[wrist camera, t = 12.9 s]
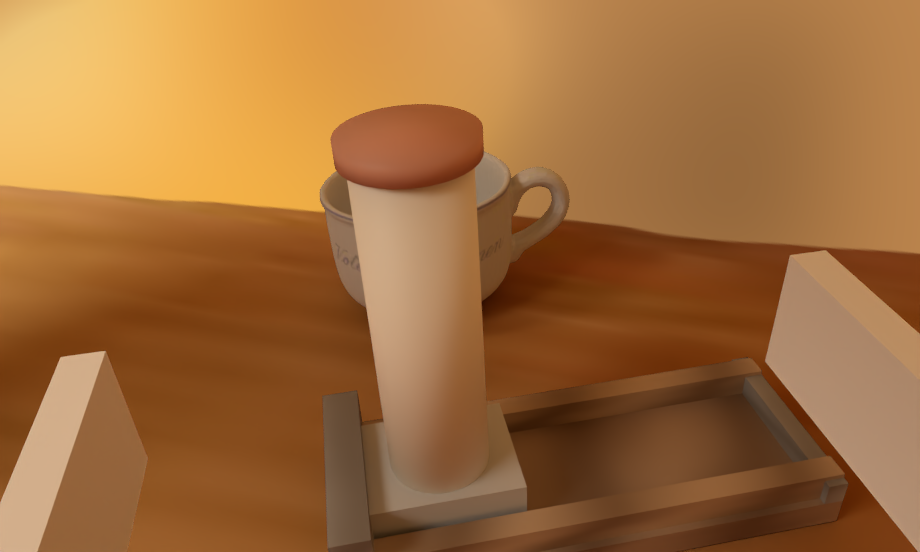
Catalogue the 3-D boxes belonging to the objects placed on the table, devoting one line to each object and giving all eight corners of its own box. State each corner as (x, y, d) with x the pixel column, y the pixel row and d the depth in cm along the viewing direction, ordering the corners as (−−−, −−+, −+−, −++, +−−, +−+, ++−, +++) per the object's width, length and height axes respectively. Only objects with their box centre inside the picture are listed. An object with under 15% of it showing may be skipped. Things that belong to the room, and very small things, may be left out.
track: (343, 616, 28) (327, 547, 26) (336, 460, 35) (322, 395, 33) (836, 520, 31) (859, 450, 28) (741, 391, 37) (753, 327, 35)
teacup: (319, 347, 42) (294, 222, 38) (359, 247, 51) (343, 137, 47) (570, 350, 41) (573, 221, 36) (566, 248, 50) (568, 134, 45)
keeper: (376, 551, 29) (307, 176, 20) (367, 460, 33) (306, 115, 24) (527, 523, 30) (522, 149, 21) (500, 437, 34) (487, 94, 25)
